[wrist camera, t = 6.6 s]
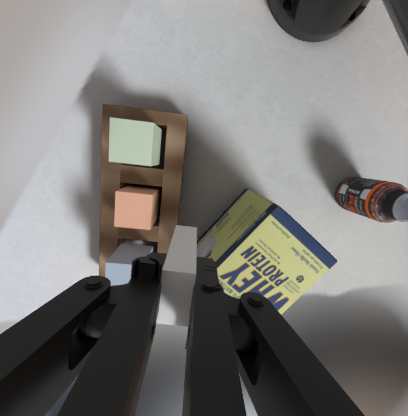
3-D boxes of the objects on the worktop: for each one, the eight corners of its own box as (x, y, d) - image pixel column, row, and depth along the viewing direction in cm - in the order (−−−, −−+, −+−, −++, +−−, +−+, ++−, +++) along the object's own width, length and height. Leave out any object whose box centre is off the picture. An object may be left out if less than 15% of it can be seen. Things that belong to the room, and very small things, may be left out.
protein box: (287, 223, 42) (340, 260, 27) (229, 283, 44) (248, 348, 29) (246, 185, 41) (279, 202, 25) (188, 249, 43) (185, 300, 27)
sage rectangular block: (126, 125, 34) (109, 117, 27) (161, 129, 34) (153, 122, 27) (125, 160, 35) (108, 161, 28) (159, 164, 35) (150, 166, 28)
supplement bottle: (327, 192, 41) (376, 205, 30) (354, 169, 41) (414, 174, 30) (346, 216, 43) (400, 237, 32) (373, 194, 42) (437, 207, 31)
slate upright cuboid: (121, 243, 37) (105, 262, 30) (153, 246, 38) (144, 265, 31) (120, 271, 38) (104, 296, 31) (151, 274, 39) (142, 299, 32)
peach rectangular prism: (129, 185, 38) (115, 191, 32) (159, 188, 39) (152, 195, 32) (127, 214, 39) (114, 226, 33) (157, 217, 40) (150, 229, 33)
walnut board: (112, 109, 37) (102, 103, 33) (188, 119, 38) (187, 114, 34) (107, 271, 43) (98, 283, 39) (173, 277, 44) (171, 288, 40)
